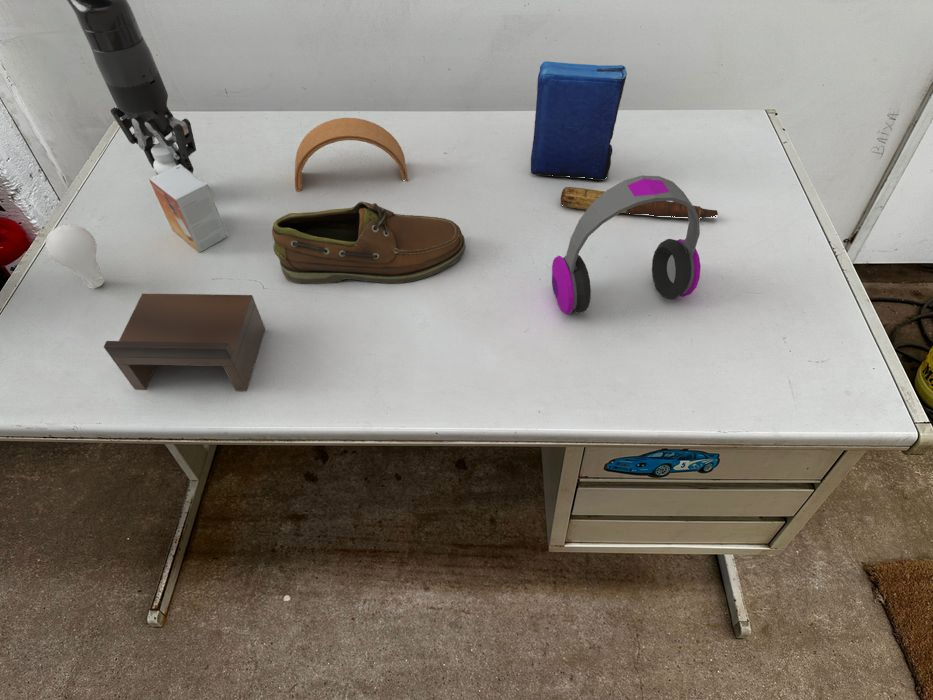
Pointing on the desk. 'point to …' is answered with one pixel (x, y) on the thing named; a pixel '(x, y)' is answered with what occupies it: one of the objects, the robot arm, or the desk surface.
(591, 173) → the book
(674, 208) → the hand tool
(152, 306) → the shelf
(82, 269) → the lightbulb
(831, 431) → the desk surface
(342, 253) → the boat shoe
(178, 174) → the small box
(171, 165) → the pill bottle
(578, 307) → the headphones
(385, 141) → the arch
